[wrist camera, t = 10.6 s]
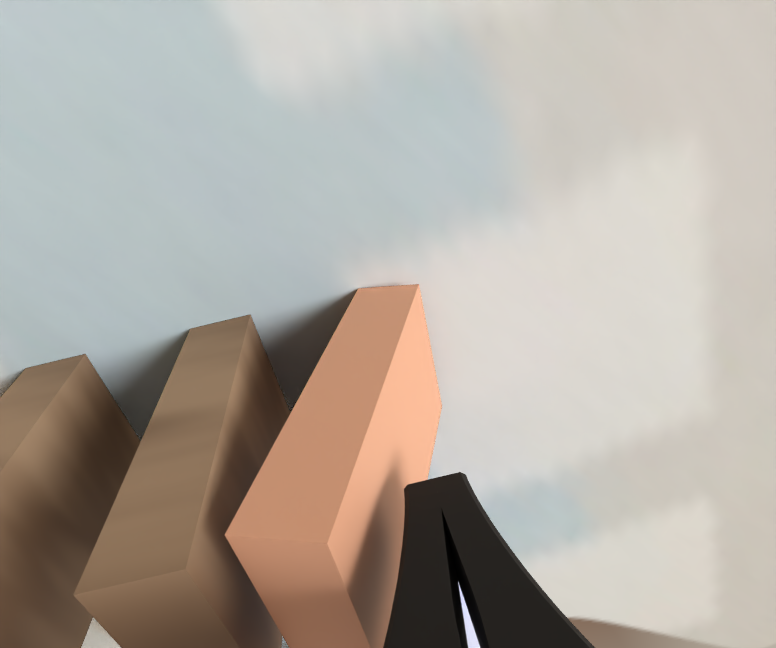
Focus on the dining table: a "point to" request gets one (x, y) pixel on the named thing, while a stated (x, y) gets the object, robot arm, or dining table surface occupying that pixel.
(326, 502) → the terracotta domino
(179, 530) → the walnut domino
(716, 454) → the dining table surface
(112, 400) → the walnut domino
